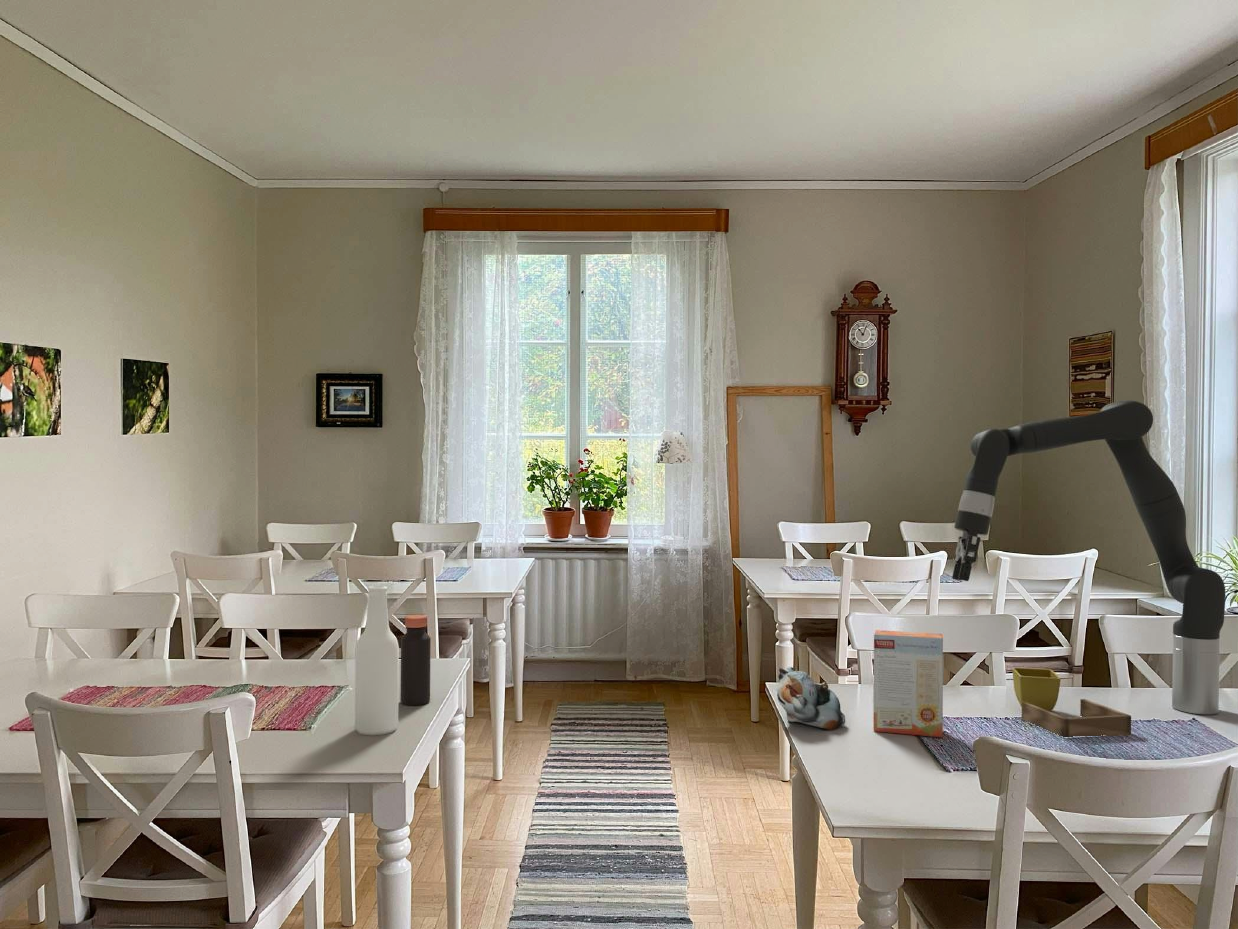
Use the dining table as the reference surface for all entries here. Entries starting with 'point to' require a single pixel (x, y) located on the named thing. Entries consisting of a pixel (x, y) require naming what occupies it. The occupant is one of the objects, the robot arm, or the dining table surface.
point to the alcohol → (376, 670)
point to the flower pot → (1036, 687)
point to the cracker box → (908, 683)
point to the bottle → (415, 662)
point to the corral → (1080, 720)
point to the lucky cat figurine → (808, 700)
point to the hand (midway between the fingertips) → (959, 580)
